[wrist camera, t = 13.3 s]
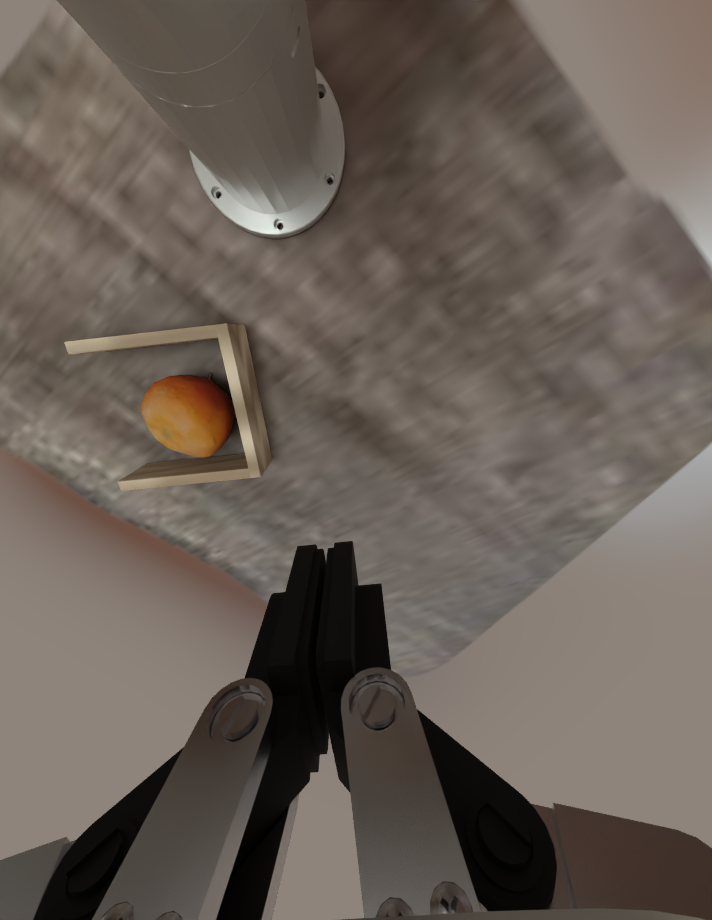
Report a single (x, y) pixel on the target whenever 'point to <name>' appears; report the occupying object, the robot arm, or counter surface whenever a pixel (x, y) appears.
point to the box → (242, 396)
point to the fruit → (188, 414)
